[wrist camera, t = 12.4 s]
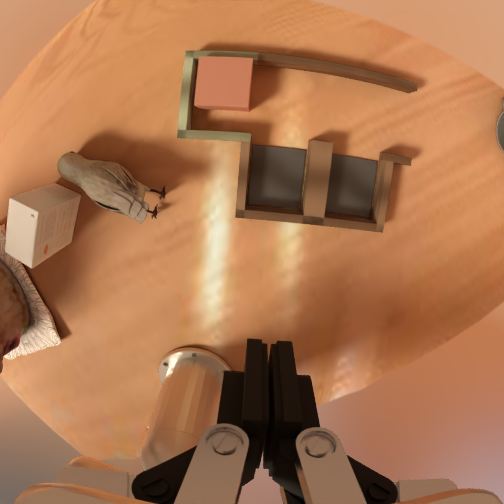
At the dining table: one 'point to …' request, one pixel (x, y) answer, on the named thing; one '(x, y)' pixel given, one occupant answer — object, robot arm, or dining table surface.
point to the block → (224, 83)
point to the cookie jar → (21, 310)
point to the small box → (40, 223)
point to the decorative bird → (108, 185)
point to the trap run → (302, 158)
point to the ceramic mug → (500, 129)
